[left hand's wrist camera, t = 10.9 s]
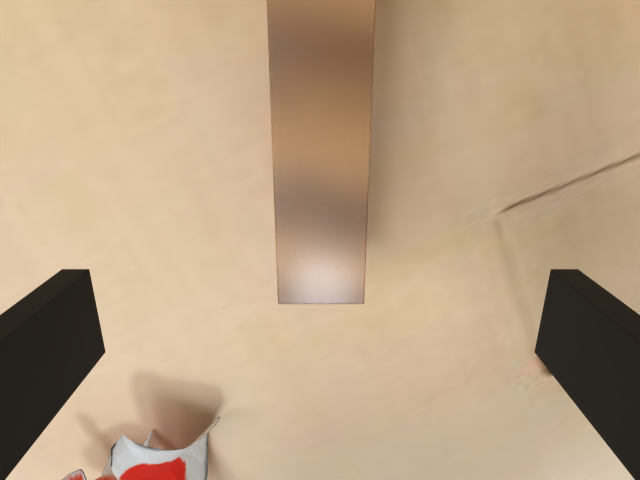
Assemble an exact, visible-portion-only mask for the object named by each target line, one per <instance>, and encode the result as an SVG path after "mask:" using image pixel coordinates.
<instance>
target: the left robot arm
mask: <svg viewBox="0 0 640 480" xmlns="http://www.w3.org/2000/svg"><path fill="white" fill-rule="evenodd" d="M104 353H105V348H104V343H103V338H102V333H101V327H100V322H99V317H98V312H97V307H96V302H95V297H94V292H93V287H92V282H91V277H90V271H89V269H62V270H61V271H59V272H58V273H57V274H55V275H54V276H53V277H51V278H50V279H48V280H47V281H46V282H44V283H43V284H42V285H40V286H39V287H38V288H36V289H35V290H34V291H32V292H31V293H30V294H28V295H27V296H25V297H24V298H23V299H21V300H20V301H19V302H17V303H16V304H15V305H13V306H12V307H11V308H9V309H8V310H7V311H5V312H4V313H2V314H1V315H0V480H5V479H6V478H7V477H8V475H9V474H10V473H11V471H12V470H13V469H14V468H15V466H16V465H17V464H18V463H19V461H20V460H21V459H22V457H23V456H24V455H25V454H26V452H27V451H28V450H29V449H30V447H31V446H32V445H33V443H34V442H35V441H36V440H37V438H38V437H39V436H40V435H41V433H42V432H43V431H44V429H45V428H46V427H47V426H48V424H49V423H50V422H51V421H52V419H53V418H54V417H55V415H56V414H57V413H58V412H59V410H60V409H61V408H62V407H63V405H64V404H65V403H66V401H67V400H68V399H69V398H70V396H71V395H72V394H73V393H74V391H75V390H76V389H77V387H78V386H79V385H80V384H81V382H82V381H83V380H84V379H85V377H86V376H87V375H88V373H89V372H90V371H91V370H92V368H93V367H94V366H95V365H96V363H97V362H98V361H99V359H100V358H101V357H102V356H103V354H104ZM535 353H536V354H537V356H538V357H539V358H540V359H541V361H542V362H543V363H544V365H545V366H546V367H547V368H548V370H549V371H550V372H551V373H552V375H553V376H554V377H555V379H556V380H557V381H558V382H559V384H560V385H561V386H562V387H563V389H564V390H565V391H566V393H567V394H568V395H569V396H570V398H571V399H572V400H573V401H574V403H575V404H576V405H577V407H578V408H579V409H580V410H581V412H582V413H583V414H584V415H585V417H586V418H587V419H588V421H589V422H590V423H591V424H592V426H593V427H594V428H595V429H596V431H597V432H598V433H599V435H600V436H601V437H602V438H603V440H604V441H605V442H606V443H607V445H608V446H609V447H610V449H611V450H612V451H613V452H614V454H615V455H616V456H617V457H618V459H619V460H620V461H621V463H622V464H623V465H624V466H625V468H626V469H627V470H628V471H629V473H630V474H631V475H632V477H633V478H634V479H635V480H640V315H639V314H638V313H636V312H635V311H633V310H632V309H631V308H629V307H628V306H627V305H625V304H624V303H623V302H621V301H620V300H619V299H617V298H616V297H615V296H613V295H612V294H610V293H609V292H608V291H606V290H605V289H604V288H602V287H601V286H600V285H598V284H597V283H596V282H594V281H593V280H592V279H590V278H589V277H587V276H586V275H585V274H583V273H582V272H581V271H579V270H578V269H551V271H550V277H549V282H548V287H547V292H546V297H545V302H544V307H543V312H542V317H541V322H540V327H539V333H538V338H537V343H536V348H535Z"/></svg>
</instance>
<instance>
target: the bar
mask: <svg viewBox="0 0 640 480" xmlns="http://www.w3.org/2000/svg"><path fill="white" fill-rule="evenodd" d="M267 18H268V45H269V71H270V98H271V125H272V151H273V178H274V205H275V232H276V258H277V285H278V304H364V289H365V263H366V236H367V210H368V183H369V157H370V130H371V103H372V77H373V50H374V24H375V0H267Z"/></svg>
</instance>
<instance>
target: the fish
mask: <svg viewBox="0 0 640 480" xmlns="http://www.w3.org/2000/svg"><path fill="white" fill-rule="evenodd" d="M220 417H221V416H220ZM220 417H217V418H216V419H215V420H214V422H213V423H212V424H211V425H210V426H209V427H208V428H207V429H206V430H205V431H204V432H203V433H202V434H201V435H200V436H199V437H198V438H197V439H196V440H195V441H194V442H193V443H192V444H191V445H190V446H188V447H186V448H184V449H178V450H163V449H156V448H150V447H148V445H149V441H150V438H151V434H152V431H151V432H150V434H149V436H148V438H147V439H146V441H145V443H144V445H141V444H138V443H135V442H133V441H131V440H130V439H128V438H127V437H125V436H124V435H123V434H122V435H121V437H120V438H119V439H118V441H117V442H116V443H115V445H114V446H113V447H112V448H111V455H110V458H109V461H108V463H107V465H106V467H105V469H104V471H103V473H102V475H101V477H99V478H97V479H96V480H207V470H208V467H207V441H208V432H209V431H210V430H211V429H212V428H213V427H214V426H215V425H216V423H217V422H218V421H219V419H220ZM62 480H86V477H85V475H84V472H83V471H82V470H81V469H80V470H77V471H75V472H73V473H70V474H68V475H67V476H66V477H65V478H64V479H62Z"/></svg>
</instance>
